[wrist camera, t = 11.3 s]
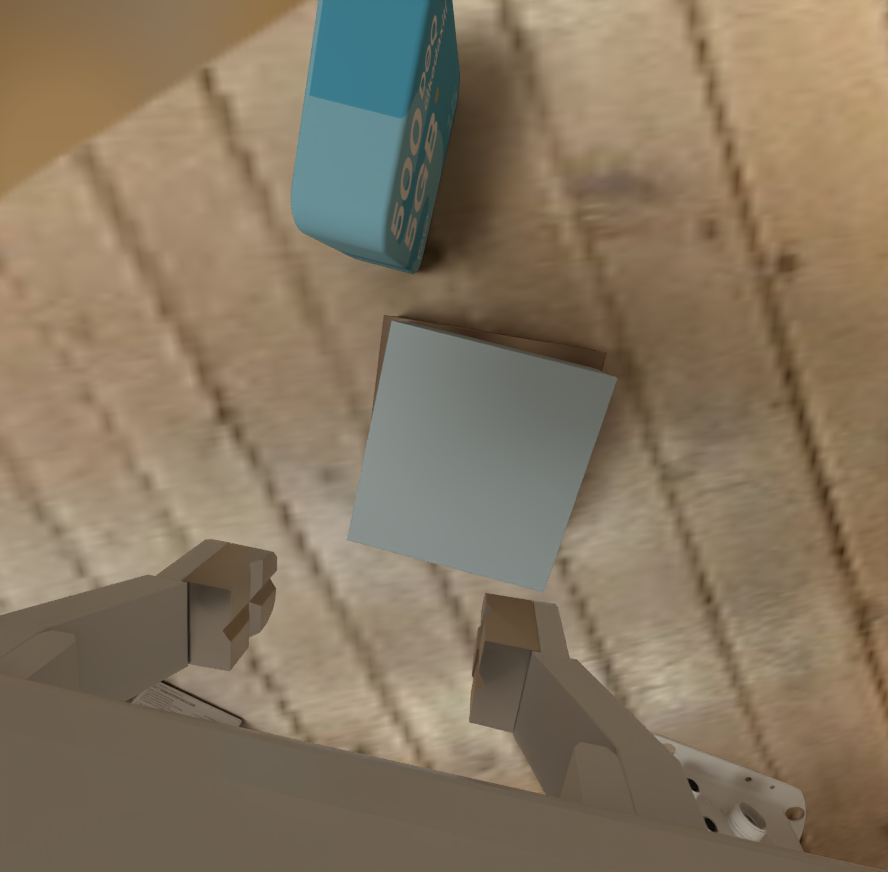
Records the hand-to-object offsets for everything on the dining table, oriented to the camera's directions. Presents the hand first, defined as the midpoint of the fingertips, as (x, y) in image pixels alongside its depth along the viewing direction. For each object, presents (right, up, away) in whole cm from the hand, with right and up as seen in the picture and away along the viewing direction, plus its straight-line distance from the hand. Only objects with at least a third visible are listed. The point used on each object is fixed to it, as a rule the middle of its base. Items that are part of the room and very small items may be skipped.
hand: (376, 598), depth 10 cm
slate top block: (+3, +3, +20) cm, 20 cm away
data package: (-1, +21, +20) cm, 29 cm away
